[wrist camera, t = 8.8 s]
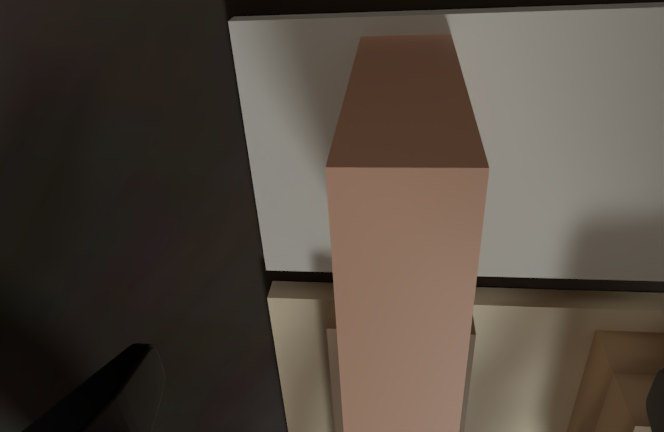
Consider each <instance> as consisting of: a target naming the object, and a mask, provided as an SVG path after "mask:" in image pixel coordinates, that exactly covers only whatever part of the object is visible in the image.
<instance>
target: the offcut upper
mask: <svg viewBox="0 0 664 432" xmlns="http://www.w3.org/2000/svg"><path fill="white" fill-rule="evenodd" d="M654 377H655V376H654V375H634V374H613V377H612V380H611V383H610V386H609V389H608V392H607V395H606V398H605V401H604V404H603V407H602V410H601V414H600V417H599V420H598V423H597V426H596V429H595V432H652V431H651V427H650V424H649V420H648V416H647V412H646V398H647V395H648V393H649V390H650V387H651V385H652V382H653V380H654Z"/></svg>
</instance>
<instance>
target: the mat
mask: <svg viewBox="0 0 664 432" xmlns="http://www.w3.org/2000/svg"><path fill="white" fill-rule="evenodd" d="M228 24H229V31H230V38H231V44H232V51H233V57H234V64H235V70H236V77H237V83H238V90H239V96H240V103H241V109H242V116H243V122H244V129H245V135H246V142H247V148H248V155H249V161H250V168H251V174H252V181H253V187H254V194H255V200H256V207H257V213H258V220H259V226H260V233H261V239H262V246H263V253H264V259H265V266H266V270H271V271H307V272H333V271H332V256H331V242H330V227H329V213H328V198H327V184H326V169H325V167H326V163H327V160H328V156H329V152H330V148H331V145H332V141H333V137H334V134H335V130H336V126H337V122H338V119H339V115H340V111H341V108H342V104H343V100H344V96H345V93H346V89H347V85H348V82H349V78H350V74H351V71H352V67H353V63H354V59H355V56H356V52H357V48H358V45H359V41H360V37H361V36H396V35H432V34H451V35H452V38H453V42H454V45H455V49H456V52H457V56H458V59H459V63H460V66H461V70H462V73H463V77H464V80H465V84H466V87H467V91H468V94H469V98H470V101H471V105H472V108H473V112H474V115H475V119H476V122H477V126H478V129H479V133H480V136H481V140H482V143H483V147H484V150H485V154H486V157H487V161H488V164H489V177H488V185H487V194H486V203H485V212H484V220H483V229H482V238H481V247H480V255H479V264H478V273H477V276H486V277H522V278H558V279H594V280H630V281H664V2H654V3H624V4H594V5H565V6H535V7H505V8H475V9H445V10H415V11H386V12H356V13H326V14H296V15H266V16H236V17H233V18H231V19H230V20H229V21H228Z"/></svg>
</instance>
